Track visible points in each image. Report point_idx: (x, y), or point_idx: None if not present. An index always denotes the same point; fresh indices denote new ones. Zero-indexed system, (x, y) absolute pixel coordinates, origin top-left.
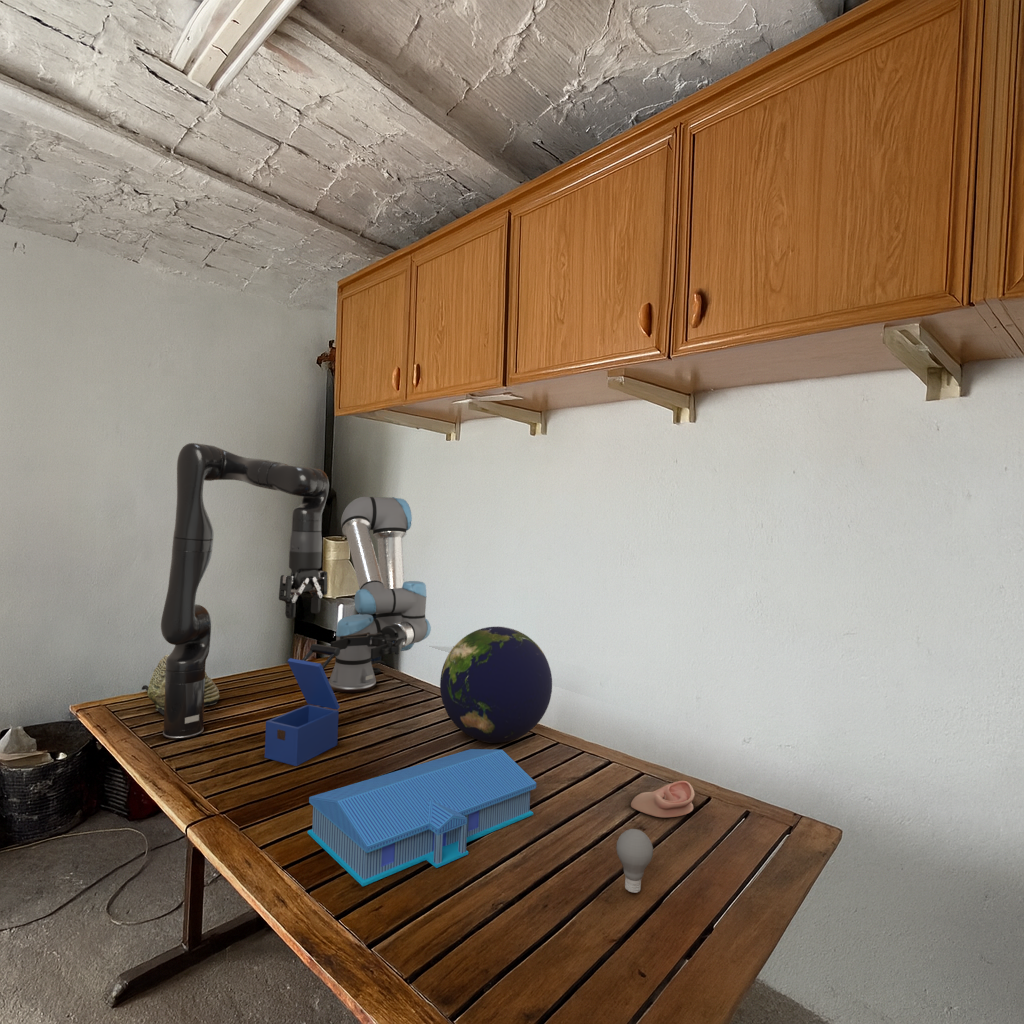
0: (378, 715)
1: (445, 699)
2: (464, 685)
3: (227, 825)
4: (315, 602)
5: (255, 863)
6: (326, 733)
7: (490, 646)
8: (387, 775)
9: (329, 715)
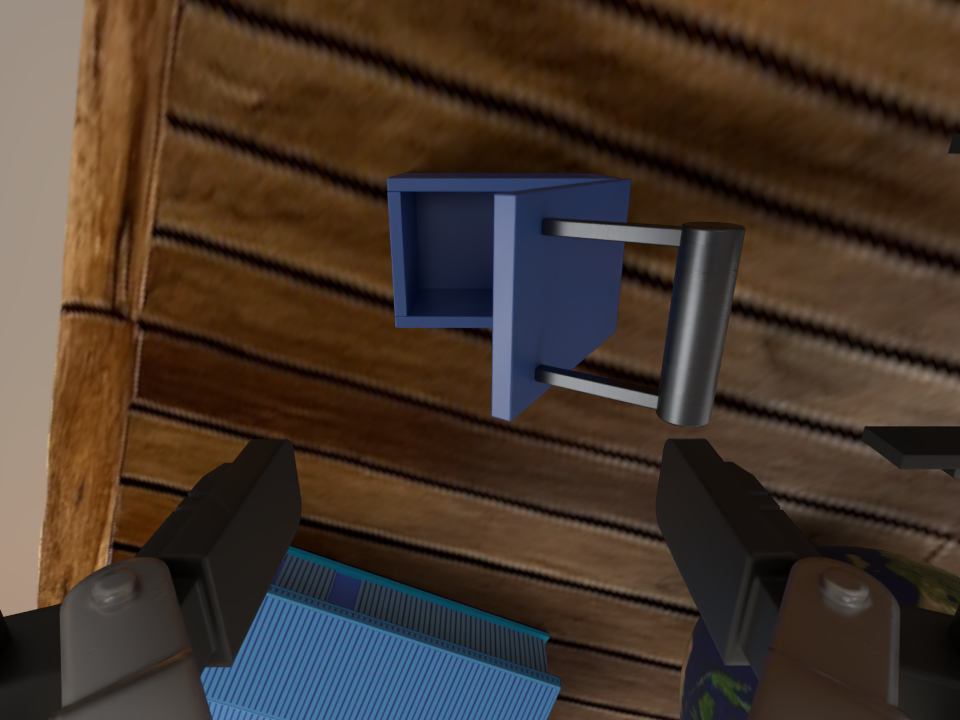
0: (871, 247)
1: None
2: None
3: (121, 374)
4: (709, 580)
5: (87, 503)
6: None
7: None
8: (334, 633)
9: None
